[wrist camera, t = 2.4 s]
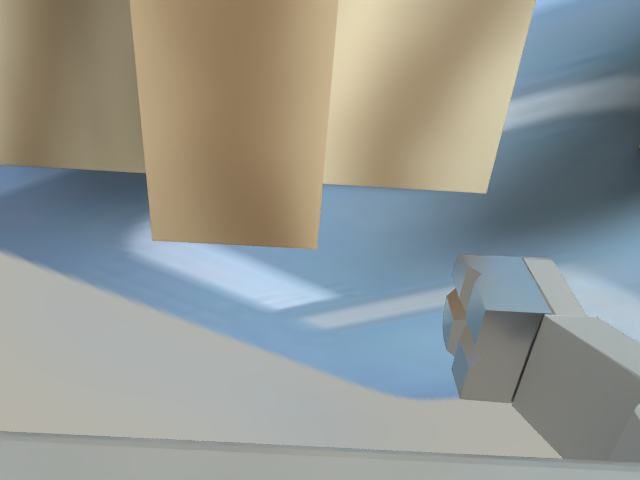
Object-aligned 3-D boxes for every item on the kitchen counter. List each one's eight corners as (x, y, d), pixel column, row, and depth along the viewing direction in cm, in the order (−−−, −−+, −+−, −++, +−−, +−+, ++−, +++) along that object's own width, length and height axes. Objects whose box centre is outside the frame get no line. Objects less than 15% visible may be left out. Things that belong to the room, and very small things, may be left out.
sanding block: (180, 175, 21) (152, 240, 17) (165, -70, 17) (124, -55, 13) (315, 183, 21) (317, 249, 18) (334, -56, 17) (341, -37, 13)
